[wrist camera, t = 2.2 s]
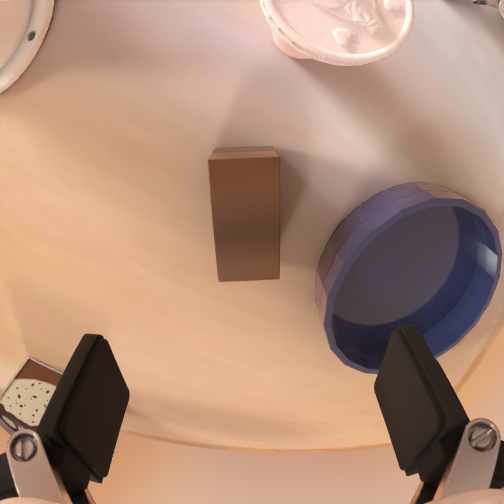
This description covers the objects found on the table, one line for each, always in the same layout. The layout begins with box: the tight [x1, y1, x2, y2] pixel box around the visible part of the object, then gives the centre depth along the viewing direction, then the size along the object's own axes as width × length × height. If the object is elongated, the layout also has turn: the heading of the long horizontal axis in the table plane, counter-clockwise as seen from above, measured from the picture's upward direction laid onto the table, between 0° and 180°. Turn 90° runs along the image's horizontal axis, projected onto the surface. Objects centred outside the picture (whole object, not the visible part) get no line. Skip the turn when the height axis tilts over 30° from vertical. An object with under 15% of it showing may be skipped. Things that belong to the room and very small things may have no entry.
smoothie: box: [260, 0, 414, 66], centre depth 11 cm, size 6×6×14 cm
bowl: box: [315, 182, 502, 374], centre depth 24 cm, size 17×17×4 cm
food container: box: [0, 356, 63, 435], centre depth 28 cm, size 12×6×10 cm, turn 67°
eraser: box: [208, 146, 280, 282], centre depth 21 cm, size 8×4×4 cm, turn 2°
